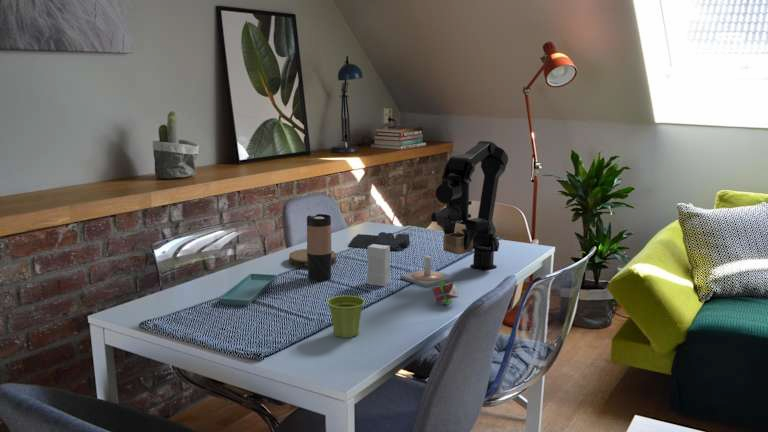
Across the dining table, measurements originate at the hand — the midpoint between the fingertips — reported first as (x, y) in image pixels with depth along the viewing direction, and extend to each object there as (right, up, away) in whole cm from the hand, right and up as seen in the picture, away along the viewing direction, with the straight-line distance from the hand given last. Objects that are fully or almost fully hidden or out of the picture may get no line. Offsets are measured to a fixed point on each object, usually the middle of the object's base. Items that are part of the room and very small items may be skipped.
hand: (457, 247), depth 223 cm
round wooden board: (-47, -6, +24) cm, 53 cm away
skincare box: (-24, -11, 0) cm, 27 cm away
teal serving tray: (-63, -13, -8) cm, 65 cm away
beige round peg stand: (-9, -10, +5) cm, 15 cm away
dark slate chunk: (-24, -2, +47) cm, 53 cm away
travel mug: (-43, -10, +5) cm, 45 cm away
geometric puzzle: (-5, -15, -17) cm, 24 cm away
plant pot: (-32, -20, -41) cm, 56 cm away
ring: (0, -1, 0) cm, 1 cm away
